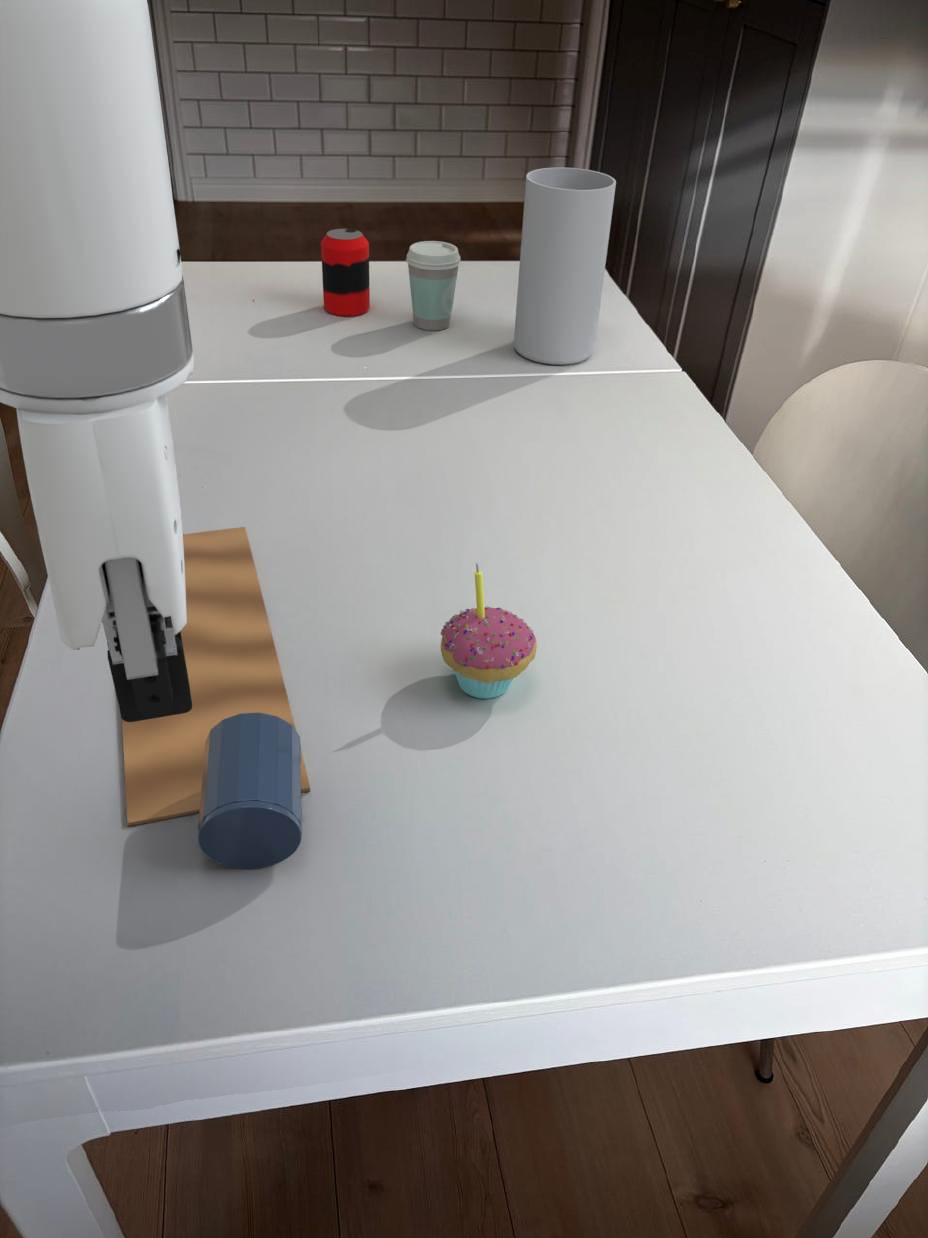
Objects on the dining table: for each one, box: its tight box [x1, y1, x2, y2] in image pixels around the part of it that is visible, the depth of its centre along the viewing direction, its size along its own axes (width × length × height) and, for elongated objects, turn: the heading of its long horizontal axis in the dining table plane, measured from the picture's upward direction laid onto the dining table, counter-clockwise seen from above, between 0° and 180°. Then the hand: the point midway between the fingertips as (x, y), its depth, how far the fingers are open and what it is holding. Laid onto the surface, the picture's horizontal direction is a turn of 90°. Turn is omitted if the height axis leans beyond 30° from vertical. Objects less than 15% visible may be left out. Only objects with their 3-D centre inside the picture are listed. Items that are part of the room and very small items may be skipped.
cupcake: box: [440, 562, 538, 700], centre depth 87 cm, size 9×8×12 cm
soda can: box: [320, 228, 371, 317], centre depth 160 cm, size 8×8×12 cm
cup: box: [197, 713, 303, 870], centre depth 74 cm, size 7×7×9 cm
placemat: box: [121, 526, 311, 827], centre depth 92 cm, size 40×14×1 cm, turn 17°
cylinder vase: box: [513, 167, 617, 366], centre depth 146 cm, size 12×12×25 cm
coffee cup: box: [405, 240, 462, 332], centre depth 156 cm, size 8×9×12 cm
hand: (157, 705), depth 47 cm, fingers closed
